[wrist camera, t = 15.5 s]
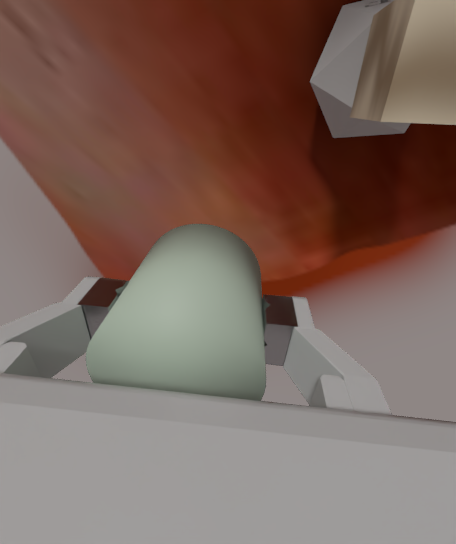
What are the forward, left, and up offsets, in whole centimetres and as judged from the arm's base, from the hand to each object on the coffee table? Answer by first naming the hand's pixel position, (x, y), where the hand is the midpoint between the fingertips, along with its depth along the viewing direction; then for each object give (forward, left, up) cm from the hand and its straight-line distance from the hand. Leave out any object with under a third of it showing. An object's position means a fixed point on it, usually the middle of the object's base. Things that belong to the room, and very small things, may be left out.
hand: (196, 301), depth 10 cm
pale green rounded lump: (0, 0, -2) cm, 2 cm away
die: (-9, +10, -21) cm, 25 cm away
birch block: (-9, +10, -13) cm, 19 cm away
